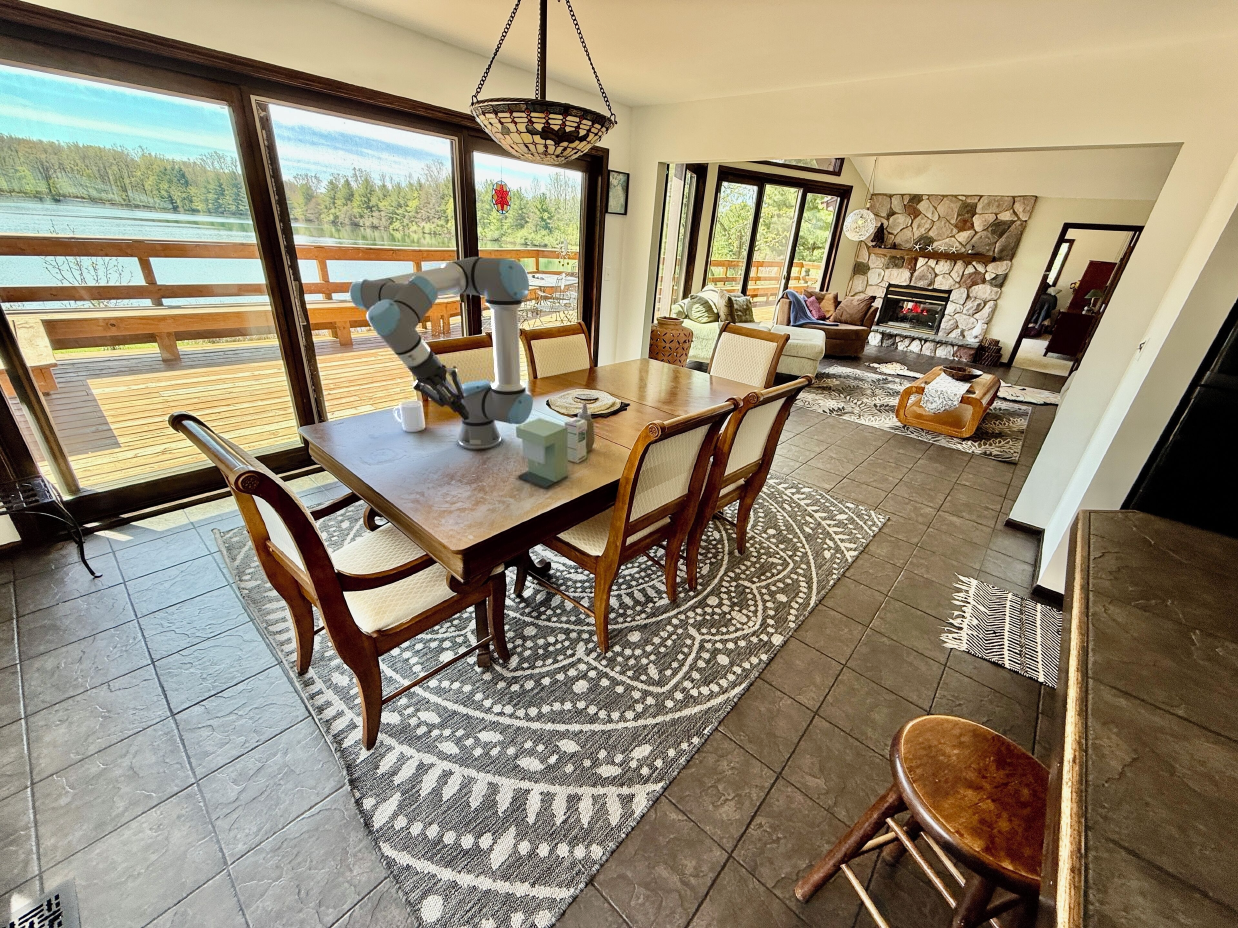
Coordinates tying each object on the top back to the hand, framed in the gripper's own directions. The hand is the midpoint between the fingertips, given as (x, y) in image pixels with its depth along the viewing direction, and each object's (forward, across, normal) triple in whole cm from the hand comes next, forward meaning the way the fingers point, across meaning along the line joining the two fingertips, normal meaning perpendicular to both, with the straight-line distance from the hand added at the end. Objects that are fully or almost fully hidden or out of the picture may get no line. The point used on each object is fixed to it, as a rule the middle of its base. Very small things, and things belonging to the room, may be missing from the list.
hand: (466, 416), depth 141 cm
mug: (+28, -41, +38) cm, 63 cm away
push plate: (+20, +12, -7) cm, 24 cm away
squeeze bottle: (+44, +23, +11) cm, 51 cm away
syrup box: (+39, +20, +4) cm, 44 cm away
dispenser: (+29, +11, -8) cm, 32 cm away
